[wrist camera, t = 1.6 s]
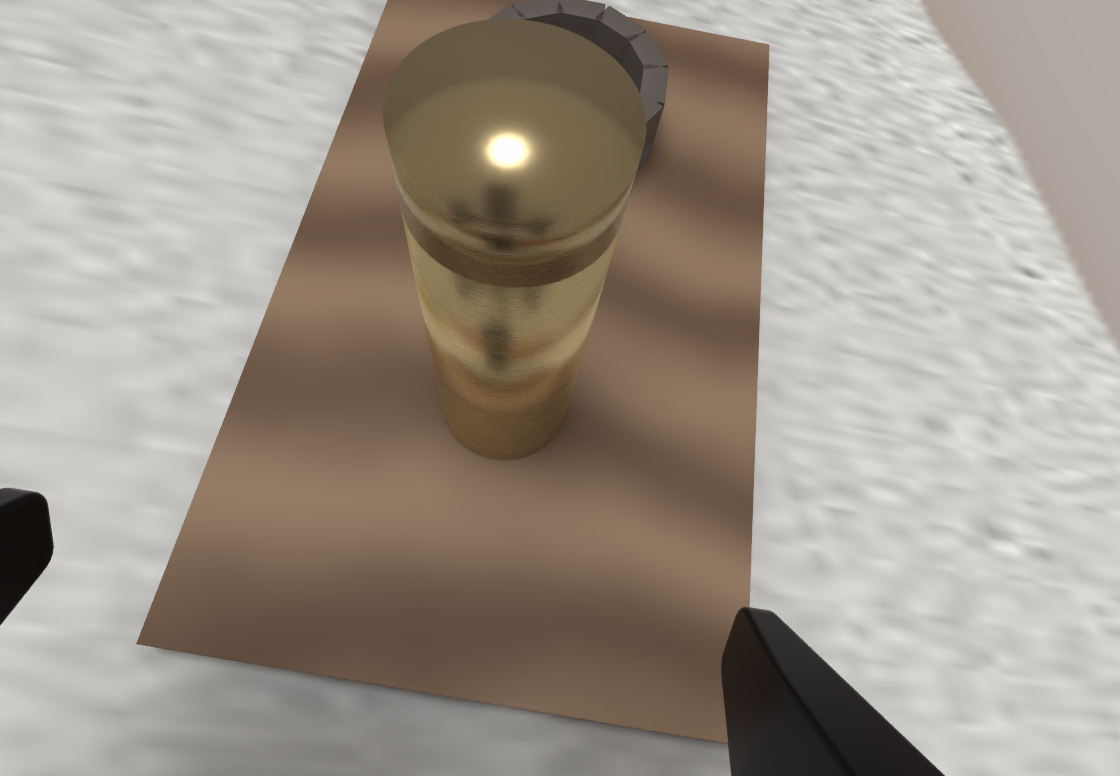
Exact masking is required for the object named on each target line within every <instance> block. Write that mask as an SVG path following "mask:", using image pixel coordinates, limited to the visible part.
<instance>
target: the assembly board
mask: <svg viewBox="0 0 1120 776" xmlns="http://www.w3.org/2000/svg"><path fill="white" fill-rule="evenodd" d="M490 19H521V20H530V21H536V22H541V23H546V24H550V25H553V26H557V27H560V28H563V29H566V30H568V31H571V32H573V33H575V34H578V35H580V36H582V37H584V38H585V39H587V40H589V41H591V42H593V43H594V44H596V45H597V46H599V47H600V48H602V49H603V50H605V51H606V52H607V53H608V54H609V55H611V56H612V57H613V58H614V59H615V60H616V61H617V62H618V63H619V64H620V65H621V66H622V67H623V68H624V69H625V70H626V72H627V73H628V75H629V76H630V77H631V79H632V80H633V82H634V83H635V85H636V87H637V89H638V91H639V93H640V96H641V98H642V101H643V104H644V108H645V114H646V130H647V132H646V138H645V144H644V148H643V151H642V154H641V158H640V161H639V165H638V168H637V172H636V175H635V179H634V182H633V185H632V189H631V192H630V196H629V199H628V203H627V206H626V209H625V213H624V216H623V220H622V223H621V227H620V230H619V233H618V237H617V240H616V244H615V247H614V251H613V254H612V257H611V261H610V264H609V268H608V271H607V275H606V278H605V281H604V285H603V288H602V292H601V295H600V299H599V302H598V305H597V309H596V312H595V316H594V319H593V323H592V326H591V329H590V333H589V336H588V340H587V343H586V347H585V350H584V354H583V357H582V360H581V364H580V367H579V371H578V374H577V378H576V381H575V384H574V388H573V391H572V395H571V398H570V402H569V405H568V408H567V412H566V415H565V418H564V421H563V424H562V426H561V428H560V430H559V431H558V433H557V434H556V436H555V437H554V438H553V439H552V440H551V442H550V443H548V444H547V445H546V446H545V447H544V448H542V449H541V450H539V451H538V452H536V453H534V454H532V455H529V456H527V457H523V458H520V459H515V460H494V459H489V458H485V457H482V456H479V455H477V454H475V453H473V452H471V451H469V450H468V449H466V448H465V447H464V446H462V445H461V444H460V443H459V442H458V441H457V440H456V439H455V438H454V436H453V435H452V434H451V432H450V431H449V429H448V427H447V425H446V423H445V420H444V417H443V414H442V409H441V404H440V399H439V394H438V389H437V384H436V379H435V375H434V370H433V365H432V360H431V355H430V350H429V345H428V340H427V335H426V330H425V326H424V321H423V316H422V311H421V306H420V301H419V296H418V291H417V286H416V281H415V277H414V272H413V267H412V262H411V257H410V252H409V247H408V242H407V237H406V232H405V227H404V223H403V218H402V213H401V208H400V203H399V198H398V193H397V188H396V183H395V178H394V174H393V169H392V164H391V159H390V154H389V149H388V144H387V139H386V134H385V129H384V123H383V101H384V96H385V91H386V88H387V86H388V83H389V80H390V78H391V76H392V75H393V73H394V71H395V70H396V68H397V66H398V65H399V64H400V63H401V62H402V60H403V59H404V58H405V57H406V56H407V55H408V54H409V53H410V52H411V51H412V50H413V49H415V48H416V47H417V46H418V45H420V44H421V43H423V42H424V41H426V40H427V39H428V38H430V37H432V36H434V35H436V34H438V33H440V32H442V31H445V30H447V29H450V28H453V27H455V26H459V25H462V24H466V23H470V22H475V21H482V20H490ZM768 70H769V45H768V44H763V43H758V42H753V41H748V40H743V39H738V38H733V37H728V36H722V35H717V34H712V33H707V32H702V31H697V30H692V29H687V28H682V27H677V26H672V25H667V24H661V23H656V22H651V21H646V20H641V19H636V18H631V17H626V16H625V15H623V14H622V13H620V12H618V11H617V10H615V9H614V8H612V7H611V6H609V7H607V8H606V9H605V4H602V3H597V2H592V1H587V0H388V1H387V3H386V6H385V8H384V11H383V13H382V16H381V19H380V21H379V24H378V26H377V29H376V31H375V34H374V37H373V39H372V42H371V44H370V47H369V49H368V52H367V54H366V57H365V60H364V62H363V65H362V67H361V70H360V72H359V75H358V78H357V80H356V83H355V85H354V88H353V90H352V93H351V95H350V98H349V101H348V103H347V106H346V108H345V111H344V113H343V116H342V118H341V121H340V124H339V126H338V129H337V131H336V134H335V136H334V139H333V142H332V144H331V147H330V149H329V152H328V154H327V157H326V159H325V162H324V165H323V167H322V170H321V172H320V175H319V177H318V180H317V183H316V185H315V188H314V190H313V193H312V195H311V198H310V200H309V203H308V206H307V208H306V211H305V213H304V216H303V218H302V221H301V223H300V226H299V229H298V231H297V234H296V236H295V239H294V241H293V244H292V247H291V249H290V252H289V254H288V257H287V259H286V262H285V264H284V267H283V270H282V272H281V275H280V277H279V280H278V282H277V285H276V288H275V290H274V293H273V295H272V298H271V300H270V303H269V305H268V308H267V311H266V313H265V316H264V318H263V321H262V323H261V326H260V328H259V331H258V334H257V336H256V339H255V341H254V344H253V346H252V349H251V352H250V354H249V357H248V359H247V362H246V364H245V367H244V369H243V372H242V375H241V377H240V380H239V382H238V385H237V387H236V390H235V392H234V395H233V398H232V400H231V403H230V405H229V408H228V410H227V413H226V416H225V418H224V421H223V423H222V426H221V428H220V431H219V433H218V436H217V439H216V441H215V444H214V446H213V449H212V451H211V454H210V457H209V459H208V462H207V464H206V467H205V469H204V472H203V474H202V477H201V480H200V482H199V485H198V487H197V490H196V492H195V495H194V497H193V500H192V503H191V505H190V508H189V510H188V513H187V515H186V518H185V521H184V523H183V526H182V528H181V531H180V533H179V536H178V538H177V541H176V544H175V546H174V549H173V551H172V554H171V556H170V559H169V562H168V564H167V567H166V569H165V572H164V574H163V577H162V579H161V582H160V585H159V587H158V590H157V592H156V595H155V597H154V600H153V602H152V605H151V608H150V610H149V613H148V615H147V618H146V620H145V623H144V626H143V628H142V631H141V633H140V636H139V638H138V641H137V643H136V644H139V645H145V646H151V647H157V648H163V649H169V650H175V651H181V652H187V653H193V654H199V655H205V656H211V657H216V658H222V659H228V660H234V661H240V662H246V663H252V664H258V665H264V666H270V667H276V668H282V669H288V670H294V671H300V672H306V673H312V674H317V675H323V676H329V677H335V678H341V679H347V680H353V681H359V682H365V683H371V684H377V685H383V686H389V687H395V688H401V689H407V690H413V691H418V692H424V693H430V694H436V695H442V696H448V697H454V698H460V699H466V700H472V701H478V702H484V703H490V704H496V705H502V706H508V707H513V708H519V709H525V710H531V711H537V712H543V713H549V714H555V715H561V716H567V717H573V718H579V719H585V720H591V721H597V722H603V723H609V724H614V725H620V726H626V727H632V728H638V729H644V730H650V731H656V732H662V733H668V734H674V735H680V736H686V737H692V738H698V739H704V740H710V741H715V742H721V743H727V744H728V738H727V728H726V718H725V708H724V698H723V688H722V678H721V661H722V655H723V652H724V649H725V646H726V643H727V640H728V637H729V634H730V631H731V628H732V625H733V622H734V619H735V616H736V614H737V612H738V611H739V609H741V608H743V607H749V603H750V574H751V546H752V518H753V490H754V462H755V434H756V406H757V378H758V350H759V322H760V294H761V266H762V238H763V210H764V182H765V154H766V126H767V98H768Z"/></svg>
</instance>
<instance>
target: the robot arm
mask: <svg viewBox="0 0 1120 776" xmlns="http://www.w3.org/2000/svg"><path fill="white" fill-rule="evenodd" d="M53 548H54V545H53V537H52V530H51V523H50V516H49V509H48V503H47V500H46V499H45V497H44V496H43V495H42V494H40V493H38V492H33V491H27V490H21V489H15V488H2V489H0V625H1V624H2V623H3V621H4V620H5V619H6V618H7V616H8V615H9V614H10V613H11V611H12V610H13V609H14V608H15V606H16V605H17V604H18V603H19V601H20V600H21V599H22V597H23V596H24V595H25V594H26V592H27V591H28V590H29V589H30V587H31V586H32V585H33V584H34V582H35V581H36V580H37V579H38V577H39V576H40V575H41V574H42V572H43V571H44V570H45V568H46V567H47V565H48V564H49V562H50V560H51V557H52V554H53ZM721 678H722V688H723V698H724V708H725V718H726V728H727V738H728V748H729V758H730V768H731V776H945V775H944V774H943V773H942V772H941V771H940V770H938V769H937V768H936V767H935V766H934V765H933V764H932V763H931V762H930V761H929V760H928V759H927V758H926V757H925V756H924V755H923V754H922V753H921V752H920V751H919V750H918V749H916V748H915V747H914V746H913V745H912V744H911V743H910V742H909V741H908V740H907V739H906V738H905V737H904V736H903V735H902V734H901V733H900V732H899V731H898V730H897V729H895V728H894V727H893V726H892V725H891V724H890V723H889V722H888V721H887V720H886V719H885V718H884V717H883V716H882V715H881V714H880V713H879V712H878V711H877V710H876V709H875V708H873V707H872V706H871V705H870V704H869V703H868V702H867V701H866V700H865V699H864V698H863V697H862V696H861V695H860V694H859V693H858V692H857V691H856V690H855V689H854V688H852V687H851V686H850V685H849V684H848V683H847V682H846V681H845V680H844V679H843V678H842V677H841V676H840V675H839V674H838V673H837V672H836V671H835V670H834V669H833V668H832V667H830V666H829V665H828V664H827V663H826V662H825V661H824V660H823V659H822V658H821V657H820V656H819V655H818V654H817V653H816V652H815V651H814V650H813V649H812V648H811V647H809V646H808V645H807V644H806V643H805V642H804V641H803V640H802V639H801V638H800V637H799V636H798V635H797V634H796V633H795V632H794V631H793V630H792V629H791V628H790V627H789V626H787V625H786V624H785V623H784V622H783V621H782V620H781V619H780V618H779V617H778V616H777V615H776V614H775V613H773V612H772V611H769V610H763V609H757V608H751V607H743V608H741V609H739V611H738V612H737V614H736V616H735V619H734V622H733V625H732V628H731V631H730V634H729V637H728V640H727V643H726V646H725V649H724V652H723V655H722V661H721Z"/></svg>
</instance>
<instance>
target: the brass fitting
mask: <svg viewBox="0 0 1120 776" xmlns="http://www.w3.org/2000/svg"><path fill="white" fill-rule="evenodd" d="M383 123H384V129H385V134H386V139H387V144H388V149H389V154H390V159H391V164H392V169H393V174H394V178H395V183H396V188H397V193H398V198H399V203H400V208H401V213H402V218H403V223H404V227H405V232H406V237H407V242H408V247H409V252H410V257H411V262H412V267H413V272H414V277H415V281H416V286H417V291H418V296H419V301H420V306H421V311H422V316H423V321H424V326H425V330H426V335H427V340H428V345H429V350H430V355H431V360H432V365H433V370H434V375H435V379H436V384H437V389H438V394H439V399H440V404H441V409H442V414H443V417H444V420H445V423H446V425H447V427H448V429H449V431H450V432H451V434H452V435H453V436H454V438H455V439H456V440H457V441H458V442H459V443H460V444H461V445H462V446H464V447H465V448H466V449H468V450H469V451H471V452H473V453H475V454H477V455H479V456H482V457H485V458H489V459H494V460H515V459H520V458H523V457H527V456H529V455H532V454H534V453H536V452H538V451H539V450H541V449H542V448H544V447H545V446H546V445H547V444H548V443H550V442H551V440H552V439H553V438H554V437H555V436H556V434H557V433H558V431H559V430H560V428H561V426H562V424H563V421H564V418H565V415H566V412H567V408H568V405H569V402H570V398H571V395H572V391H573V388H574V384H575V381H576V378H577V374H578V371H579V367H580V364H581V360H582V357H583V354H584V350H585V347H586V343H587V340H588V336H589V333H590V329H591V326H592V323H593V319H594V316H595V312H596V309H597V305H598V302H599V299H600V295H601V292H602V288H603V285H604V281H605V278H606V275H607V271H608V268H609V264H610V261H611V257H612V254H613V251H614V247H615V244H616V240H617V237H618V233H619V230H620V227H621V223H622V220H623V216H624V213H625V209H626V206H627V203H628V199H629V196H630V192H631V189H632V185H633V182H634V179H635V175H636V172H637V168H638V165H639V161H640V158H641V154H642V151H643V148H644V144H645V138H646V132H647V130H646V114H645V108H644V104H643V101H642V98H641V96H640V93H639V91H638V89H637V87H636V85H635V83H634V82H633V80H632V79H631V77H630V76H629V75H628V73H627V72H626V70H625V69H624V68H623V67H622V66H621V65H620V64H619V63H618V62H617V61H616V60H615V59H614V58H613V57H612V56H611V55H609V54H608V53H607V52H606V51H605V50H603V49H602V48H600V47H599V46H597V45H596V44H594V43H593V42H591V41H589V40H587V39H585V38H584V37H582V36H580V35H578V34H575V33H573V32H571V31H568V30H566V29H563V28H560V27H557V26H553V25H550V24H546V23H541V22H536V21H530V20H521V19H490V20H482V21H475V22H470V23H466V24H462V25H459V26H455V27H453V28H450V29H447V30H445V31H442V32H440V33H438V34H436V35H434V36H432V37H430V38H428V39H427V40H426V41H424V42H423V43H421V44H420V45H418V46H417V47H416V48H415V49H413V50H412V51H411V52H410V53H409V54H408V55H407V56H406V57H405V58H404V59H403V60H402V62H401V63H400V64H399V65H398V66H397V68H396V70H395V71H394V73H393V75H392V76H391V78H390V80H389V83H388V86H387V88H386V91H385V96H384V101H383Z"/></svg>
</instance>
